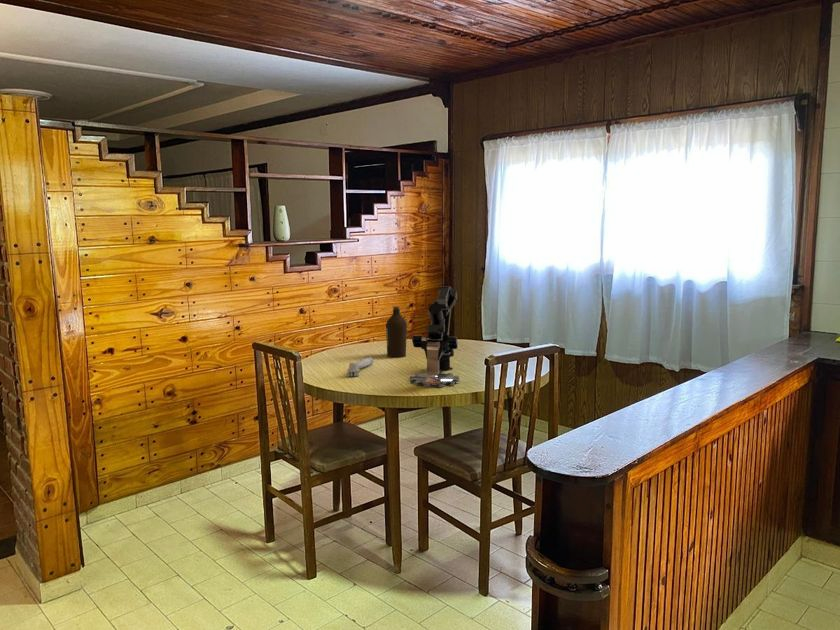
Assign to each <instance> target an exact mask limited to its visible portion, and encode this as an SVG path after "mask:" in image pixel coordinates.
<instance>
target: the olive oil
mask: <svg viewBox="0 0 840 630" xmlns="http://www.w3.org/2000/svg"><path fill="white" fill-rule="evenodd" d="M400 308H401V307H400V306H398V305H395V306H393V307H392V314H391V316H390V317H389V318H388V319H387V321H386V323H385V337H386V339H385V340H386V355H387V357H388V358H393V359H394V358H395V359H396V358H397V359H398V358H399V359H400V358H405V357H406V355H407V334H408V324H407V320H406V319H405V318H404V317H403V316H402V315H401V312H400V311H401V309H400Z"/></svg>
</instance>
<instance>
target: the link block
mask: <svg viewBox="0 0 840 630" xmlns="http://www.w3.org/2000/svg"><path fill="white" fill-rule="evenodd" d="M439 350H440V342H428V343H427V359H426V372H427V375H438V374H439V372H440V370H439V360H438V354H439Z"/></svg>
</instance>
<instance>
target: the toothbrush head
mask: <svg viewBox="0 0 840 630" xmlns="http://www.w3.org/2000/svg"><path fill="white" fill-rule="evenodd" d="M373 364H374V359H373V358H372V357H370V356H369V357H364V358H363V359H360V360H357V361H353V362H349V365H348V368H347V370H346V371H347V376H348V377H359V376H360V369H362V368H368V367H367V366H369V367H371V366H372V365H373Z"/></svg>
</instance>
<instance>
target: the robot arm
mask: <svg viewBox="0 0 840 630" xmlns="http://www.w3.org/2000/svg"><path fill="white" fill-rule="evenodd" d="M437 292H438V295H437V299H436V300H434V301H433V302H432V303H431V304H430V305H429V306H428V314H429V319H430V324H428V325H427V337H428V338H427V337H423V335H419V334H418V335H417V334H414V335H412V338H411V339H412V340H411V342H412V345H413V347H414V348H418V349H419V348H421V349H422V350H423V352H424V353H425V354H424V355H425V359H426V360H427V343H428V342H440V350H439V354H438V360H439V371H440V370H442V371H445V370H444V369H449V370H452V369H451V368H452V367H451V359H450V358H452V357H454V356H455V352H454V350H457V349H458V347H459V346H458V345H459V342H458V337H457V336H450V325H451V316H452V309H453V307H455V306H456V301H457V300H458V292H457V290H456V289H454V288H452V286H449V285H446V286H445V285H442V286H440V287H439V289H438V291H437Z"/></svg>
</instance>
